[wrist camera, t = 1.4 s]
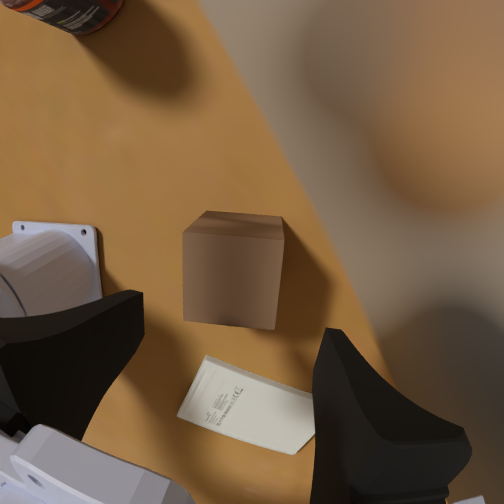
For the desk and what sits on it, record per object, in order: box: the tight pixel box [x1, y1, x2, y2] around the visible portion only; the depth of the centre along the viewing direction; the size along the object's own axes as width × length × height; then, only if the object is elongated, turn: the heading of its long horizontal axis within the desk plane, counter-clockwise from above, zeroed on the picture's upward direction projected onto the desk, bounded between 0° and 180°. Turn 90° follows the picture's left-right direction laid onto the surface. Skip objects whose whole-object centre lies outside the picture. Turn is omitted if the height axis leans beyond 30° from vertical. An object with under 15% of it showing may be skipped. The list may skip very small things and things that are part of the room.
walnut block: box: [183, 211, 285, 330], centre depth 19 cm, size 5×5×6 cm
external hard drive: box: [177, 355, 315, 455], centre depth 26 cm, size 2×8×12 cm
